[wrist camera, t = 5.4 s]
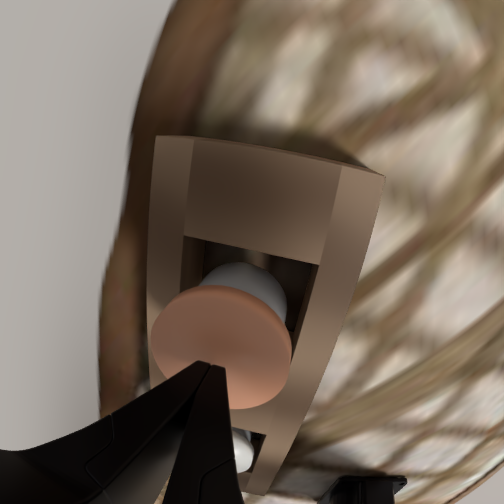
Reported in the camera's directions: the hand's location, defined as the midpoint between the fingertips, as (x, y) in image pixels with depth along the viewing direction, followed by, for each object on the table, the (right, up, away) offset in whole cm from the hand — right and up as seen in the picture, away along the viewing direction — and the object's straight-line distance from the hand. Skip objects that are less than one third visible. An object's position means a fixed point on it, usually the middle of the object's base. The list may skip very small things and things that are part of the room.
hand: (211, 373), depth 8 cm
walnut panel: (+1, -2, +8) cm, 8 cm away
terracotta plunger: (+1, +1, +4) cm, 4 cm away
